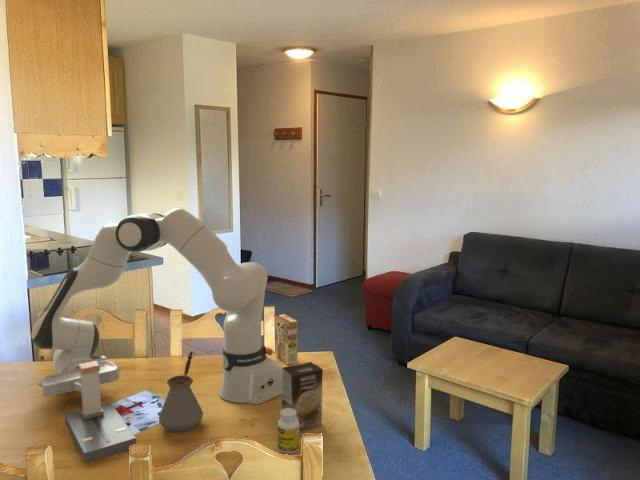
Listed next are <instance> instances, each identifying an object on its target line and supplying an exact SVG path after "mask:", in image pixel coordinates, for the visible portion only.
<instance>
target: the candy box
mask: <svg viewBox="0 0 640 480" xmlns="http://www.w3.org/2000/svg"><path fill="white" fill-rule="evenodd" d="M274 317H275V318H274V321H275V322H274V323H275V326H274V327H275V332H274V333H275V357H276V356H277V357H278V358H279V359H278V358H277V357H276V358H277V359H278V360H280V359H281V360H282V361H281V360H280V361H281V362H283V363H284V362H285V363H284V364H286V365H287V364H290V365H294V364H297V363H298V321H297V320H296V319H294V318H293V317H291V316H289V315H287V314H285V313H284V314H278V315H275V316H274ZM293 363H294V364H293Z"/></svg>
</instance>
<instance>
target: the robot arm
mask: <svg viewBox="0 0 640 480" xmlns="http://www.w3.org/2000/svg"><path fill="white" fill-rule="evenodd" d="M167 244H168V245H170V246H171V247H173V248H174V249H175V250H176V252H178V253H179V254H180V255H181V256H182V257H183V258H184V259H185V260H186V261H187V262H188V263H189V264H191V266H192V267H193V268H195V269H196V271H197V272H198V273H199V274H200V275H201V276H202V278H203V280H204V281H205V282H206V284H207V285H208V288H209V289H210V291H211V295H212V300H213V302H214V304H215V305H216V306H217V307H218V308H219V309H220V310H223V311H226V315H225V318H224V321H223V348H222V367H223V375H222V380H221V381H222V382H221V384H220V385H221V387H220V390H219V396H220V398H222V399H223V400H225V401H228V402H231V403H238V404H239V403H240V404H241V403H242V404H244V403H245V404H252V405H259V404H261V403H264V402H266V401H269V400H271V399H273V398H275V397H278V396H280V395H282V368H283V366H282V365H281V364H280V363H278V362H277V361H275V360H274V359H272V358H271V357H269V356H273V354H274V350H273V348H271V347H268V346H265V345H263V344H262V317H263V311H264V310H263V309H264V305H265V304H264V302H265V295H266V294H265V293H266V286H267V283H268V273H267V270H266V269H265V267H264V266H263V265H262V264H260V263H258V262H254V261H248V262H242V263H240V264H237V263H236V261H235V260H234V258H233V257H232V256H231V254H230V252H229V249H228V246H227V245H226V243H225V242H224V241H223V240H222V239H221V238H219V236H217V235H216V233H214V232H213V231H212V230H211V229H210V228H209V227H208V226H207V225H206V224H205V223H204V222H202V221H201V220H200V219H199V218H197V217H196V216H195V215H193V214H192V213H190V212H189V211H187V210H186V209H184V208H181V207H177V208H172V209H171V210H169V211H167V212H166V213H165V214H164V215H163V214H162V213H161V214H160V213H155V212H154V213H146V212H145V213H144V212H141V213H137V214H132V215H128V216H126V217H124V218H123V219H122V220H121V221H119V222H118V223H115V222H111V223H107V224H105V225H103V226H102V227H101V228H100V229H99V231H98V233H97V235H96V236H95V238H94V240H93V242H92V244H91V246H90V248H89V251H88V253H87V254H88V255H87V256H86V258H85V259H84V261H83V262H81V264H79V265H78V266H76V267H73V268H70V269H69V270H68V272H67V273H66V274H65V276H64V277H63V279H62V280H61V282H60V284H59V285H58V287H57V288H56V290H55V292H54V294H53V295H52V297H51V298H50V300H49V302H48V303H47V305H46V307H45V309H44V310H43V312H42V313H41V314H40V316H39V317H38V318H37V320H36V321H35V323H34V325H33V327H32V329H31V335H30V336H31V337H30V339H31V341H32V342H33V344H34V345H35V346H36V347H37V348H38V349H39V350H54V353H53V354H52V355H53V356H52V363H53V368H54V370H55V372H56V373H52V374H48V375H45V376H43V377H42V379H41V380H38V381H37V385H38V386H39V387H40V388H41V389H42V395H43V397H46V398H47V397H48V398H49V397H54V396H57V395H62V394H67V393H70V392H74V391H75V392H76V391H77V392H80V393H81V394H82V392H81V379H80V371H79V366H78V364H83V363H88V362H92V361H97V363H98V364H99V367H100V371H99V383H100V385H104V384H107V383H113V382H116V381H118V380H119V379H120V370H119V367H118V366H117V365H116V364H115V363H114V362H113V361H111V360H108V359H107V356H105V355H100V356H93V355H94V354H95V353H96V351H97V350H98V346H99V344H100V343H99V342H100V331H99V329H98V327H97V325H96V324H95V322H93V321H91V320H84V319H78V318H77V319H75V318H70V317H62V314H63V312H64V311H65V309H66V307H67V306H68V304H69V302H70V301H71V299H72V298H73V297H74V296H76V294H78V293H82V292H84V291H85V292H86V291H92V290H98V289H105V288H108V287H110V286H112V285H114V284H115V283H117V282H118V281H119V280H120V278H121V277H122V276H123V275H122V274H123V272H124V270H125V268H126V265H127V262H128V260H129V257H130V254H131V253H141V252H144V251H146V252H149V251H153V250H156V249H159V248H161V247H164V246H165V245H167Z"/></svg>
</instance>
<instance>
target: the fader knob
mask: <svg viewBox="0 0 640 480" xmlns="http://www.w3.org/2000/svg"><path fill="white" fill-rule="evenodd" d="M78 366H79V371H80V379H81V392H82V393H81V392H80V393H81V404H82V409H83V410H82V409H79V410H80V411H81V415H82V417H83V419H84V420H86V419H90V418H93V417H97V416H101V415H104V411H103V409H102V408H101V404H102V401H101V400H102V399H101V386H100V385H101V384H100V383H99V371H100V367H99V364H98V363H97V361H92V362H88V363H83V364H78Z"/></svg>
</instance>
